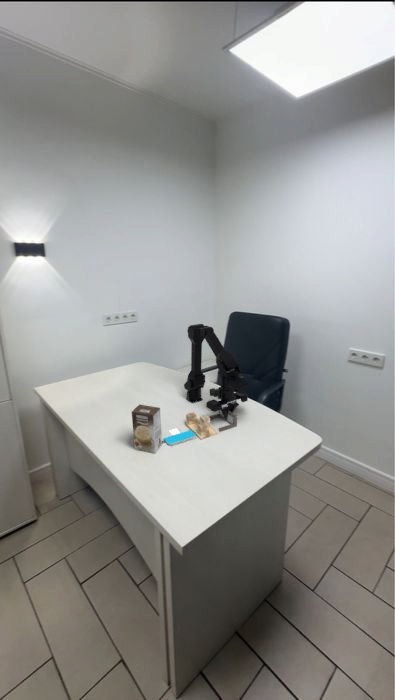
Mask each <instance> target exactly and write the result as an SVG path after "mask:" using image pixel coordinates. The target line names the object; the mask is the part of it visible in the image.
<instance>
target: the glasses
mask: <svg viewBox="0 0 395 700" xmlns="http://www.w3.org/2000/svg"><path fill="white" fill-rule="evenodd" d="M207 416H208V417H210V420H214V419H216V418H221V419H223V420H224V421H225V422H226V423H227V424H228V425H224V426H221V427H219V428H218V431H219V432H220V433H221V432H224V431H227V430H230V429H232V428H235V427H237V426H238V422H237V421H238V415H237V414H235V413H234V412H233V413H232V412H231V411H228V417H227V420H225V419H224V416H223V413H222V411H221V410H219V411H218V413H216V414H215V413H214V414H212V415H207Z"/></svg>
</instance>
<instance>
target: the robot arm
mask: <svg viewBox="0 0 395 700" xmlns="http://www.w3.org/2000/svg"><path fill="white" fill-rule="evenodd" d="M187 338H188V339H189V340H190V343H191V344H190V345H191V351H190V352H191V357H190V364H191V365H190V366H191V367H190V371H189V373H188V375H187V380H186V382H184V384H183V386H184V390H186V400H188V402H190V403H191V404H192V403H193V404H194V403H197V402H200V401H203V400H204V399H203V398H202V389H204V387H205V383H206V375H205V374H204V372H203V371H202V356H203V354H202V351H203V350H202V349H203V342H204V340H205V341H206V343H207V345H208V346H209V348H210V350H211V351H212V353H213V354H214V356H215V363H216V367H217V368H218V370H219V371H218V372H217V374H218V375H220V386H219V387H218V388H212V387H211V388H210V389H209V396H210V397H214V398H216V397H217V399H218V400H216V399H214V398H213V399H210V400H207V402H206V406H205V407H206V408H207V409H208V410H210V411H212V413H213V412H214V413H215V412H219V410H221V411H222V413H223V416H224V419H225V420H227V417H228V411H231V412H232V413H234V412H235V410H236V409H237V408H238V406H240V403H239V402H238V400H240V401H241V402H242V403H245V402H248V397H249V396H248V395H247V394H246V392H247V391H248V390H249V387H250V386H249V382H248V380H246V377H245V376H243V375H242V371H241V367H240V366H239V363H238V361H237V359H236V358H235V356H234V355H233V354H232V353H231V352H229V351H227V350H226V349H225V348H224V347H225V346H224V345H223V344H222V342H221V341H220V339H219V337H218V336H217V335H216V333H215V331H214V328H213V327H212V326H209V325H204V324H203V323H196V324H191V325H189V326H187ZM241 375H242V376H241ZM224 419H223V420H224ZM225 420H224V421H225Z"/></svg>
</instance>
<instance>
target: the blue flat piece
mask: <svg viewBox="0 0 395 700" xmlns="http://www.w3.org/2000/svg"><path fill="white" fill-rule="evenodd" d="M168 432H169V433H170V434H171V435H169V436H167V437H163V440H162V445H163V444H166V445H168V446H169V445H170V447H174V446H177V445H180V444H184V443H187V442H189V441H193V440H195V439H196V440H197V436H196V435H195V434H194V433H193V432H192V431H191V430H190V429H189V430H186V431H182V432H180V430H179V429H178V428H177V427H176V428H172V429H169V430H168Z"/></svg>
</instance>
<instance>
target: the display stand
mask: <svg viewBox="0 0 395 700" xmlns="http://www.w3.org/2000/svg"><path fill="white" fill-rule="evenodd" d="M185 415H186V417H185V419H186V421H185V422H184V425H185V426H186V427H187V428H188V429H189V430H191V431H192V432H193V433H194V434H195V435H196V438H198V439H199V440H205V439H207V438H210V437H214V436H217V435H218V430H216V429H215V428H214V427H213V426H211V419H210V417H208V416H209V415H207V414H204V415H202V416H200V417H199V418H197V416H198V415H197V414H196V413H195V412H193V411H192V412H189V413H186V414H185Z"/></svg>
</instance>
